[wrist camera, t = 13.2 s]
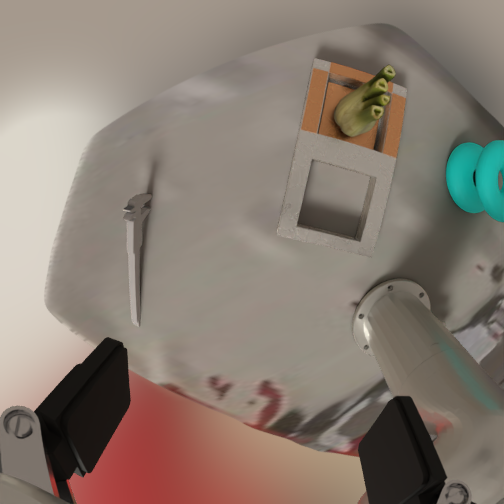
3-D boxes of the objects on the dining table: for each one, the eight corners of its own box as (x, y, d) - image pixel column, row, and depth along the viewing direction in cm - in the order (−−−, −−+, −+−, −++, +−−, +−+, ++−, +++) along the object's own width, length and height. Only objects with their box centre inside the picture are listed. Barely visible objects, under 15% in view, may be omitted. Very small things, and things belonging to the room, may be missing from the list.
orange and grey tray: (399, 93, 29) (407, 88, 27) (365, 252, 35) (371, 257, 33) (312, 65, 29) (314, 57, 27) (276, 230, 36) (276, 235, 33)
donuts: (520, 236, 23) (476, 202, 23) (478, 221, 32) (433, 193, 32) (537, 166, 20) (495, 123, 20) (494, 163, 30) (451, 130, 30)
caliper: (146, 192, 36) (123, 197, 30) (153, 194, 36) (131, 198, 30) (135, 323, 42) (116, 344, 35) (141, 325, 42) (123, 346, 35)
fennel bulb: (354, 89, 30) (387, 55, 18) (380, 118, 30) (423, 98, 19) (322, 115, 31) (344, 88, 20) (349, 145, 32) (384, 133, 20)
